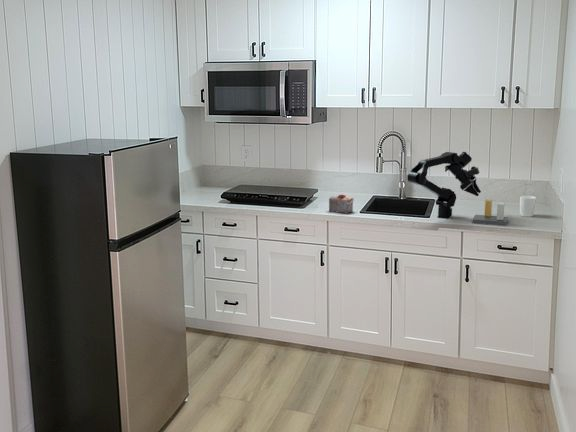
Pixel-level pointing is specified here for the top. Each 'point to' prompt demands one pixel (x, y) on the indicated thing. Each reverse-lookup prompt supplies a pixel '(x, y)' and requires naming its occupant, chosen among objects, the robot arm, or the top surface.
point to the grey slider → (500, 211)
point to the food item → (340, 203)
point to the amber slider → (488, 208)
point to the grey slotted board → (489, 220)
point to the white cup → (527, 205)
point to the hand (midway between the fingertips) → (479, 194)
